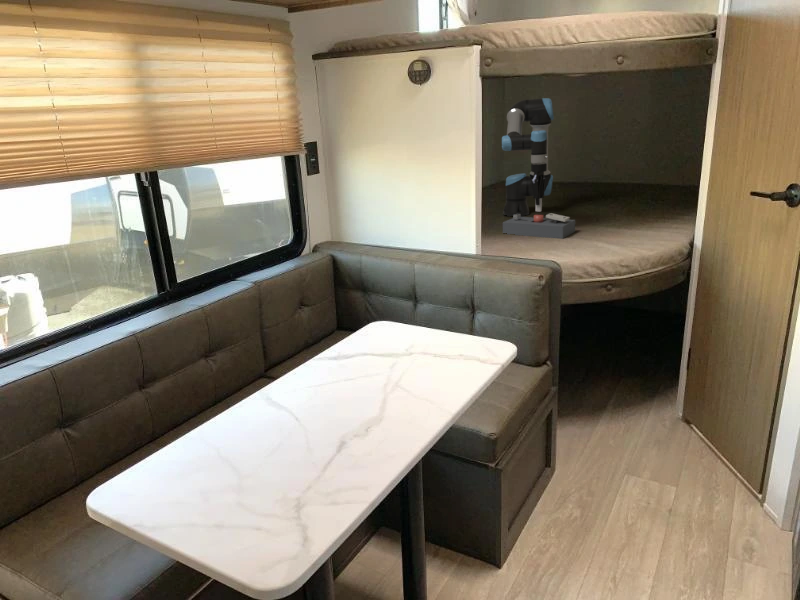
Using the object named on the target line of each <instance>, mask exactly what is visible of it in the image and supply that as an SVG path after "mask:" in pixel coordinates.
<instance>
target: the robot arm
mask: <svg viewBox="0 0 800 600" xmlns="http://www.w3.org/2000/svg"><path fill="white" fill-rule="evenodd" d="M554 119H555V117H554V107H553V101H552V99H551V98H549V97H547V98H546V97H545V98H544V97H542V98H530V99H522V100H518V101H517V102H515V103H514V104H512V105H511V107H509V109H508V111H507V113H506V121H507V126H506V127H507V129H506V135H502V137H501V150H502V151H505V152H514V151H529V150H530V152H531V153H530V163H531V164H530V172H529V175H527V173H516V174H511V175H509V176H507V177H506V179H505V204H504V207H503V209H502V210H503V211H502V215H503V214H504V215H507V216H506V217H510V216H513V215H514V214H520V217H526V216H528V215H530V209H529V206H528V202H527V197H532V199H535V210H534V211H535V212H537V213H538V212H542V211H543V210H542V209H543V202H542V201H543V198H544V196H550V195H551V193H552V189H553V181H554V176H553V174H551V173H552V172H551V171H550V170H549V127H550V126H551V124H552V121H554ZM525 122H526V123H527V122H529V126H530V127H531V128H532V131H531V133H529V134H522V132H523V123H525ZM504 215H503V216H504ZM525 215H526V216H525Z"/></svg>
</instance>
